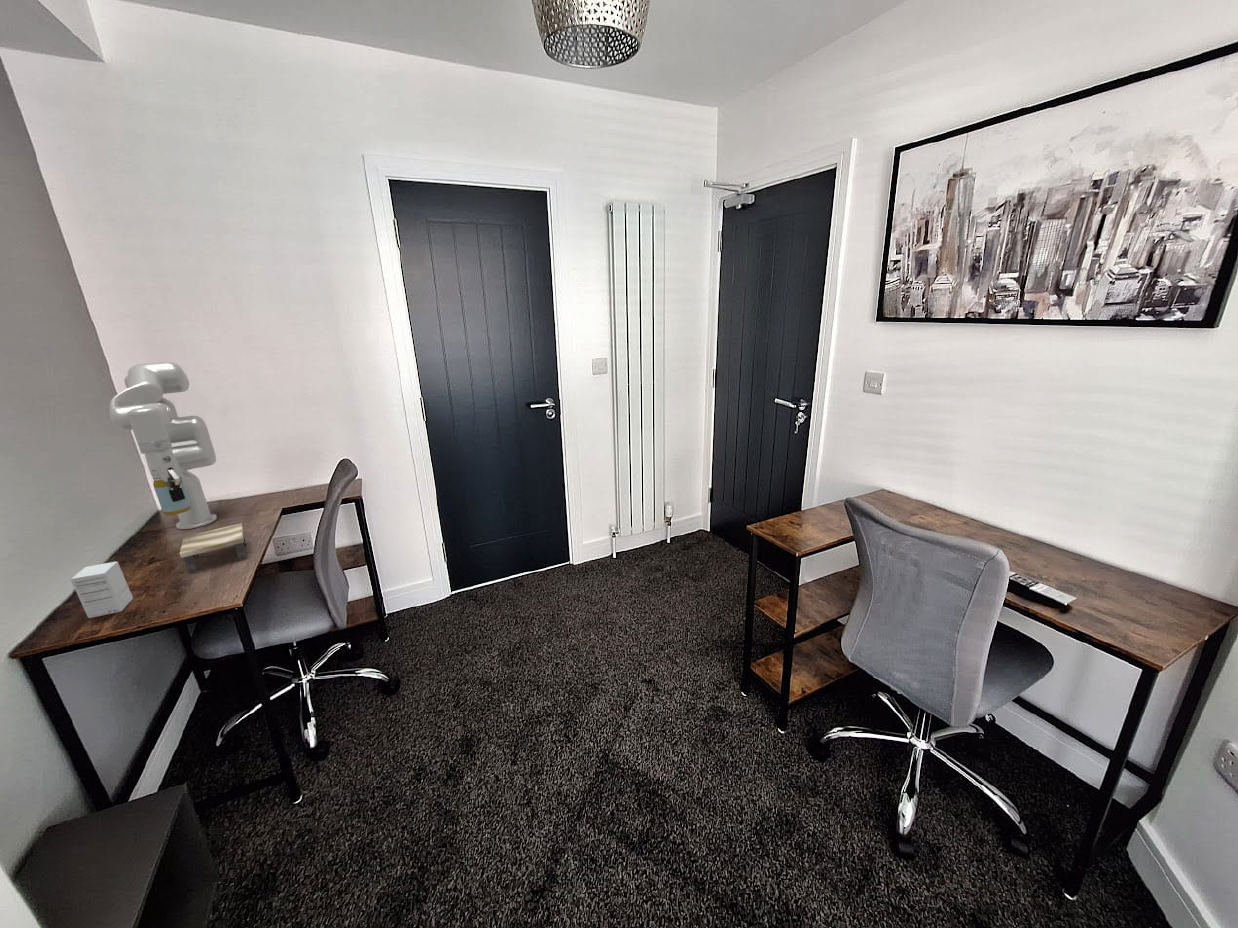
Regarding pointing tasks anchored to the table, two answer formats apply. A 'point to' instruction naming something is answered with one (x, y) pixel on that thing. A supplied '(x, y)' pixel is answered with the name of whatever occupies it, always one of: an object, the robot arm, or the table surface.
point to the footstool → (212, 543)
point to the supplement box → (102, 589)
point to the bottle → (165, 498)
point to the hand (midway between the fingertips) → (173, 498)
